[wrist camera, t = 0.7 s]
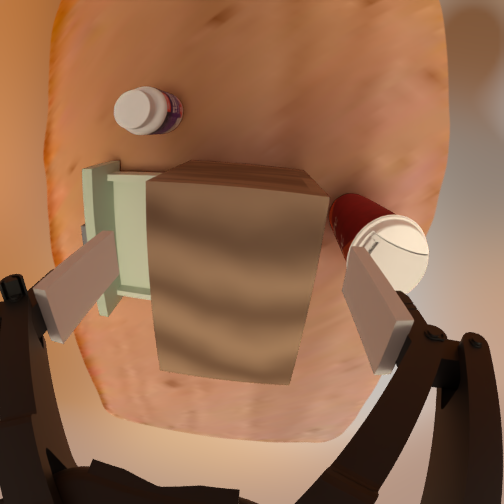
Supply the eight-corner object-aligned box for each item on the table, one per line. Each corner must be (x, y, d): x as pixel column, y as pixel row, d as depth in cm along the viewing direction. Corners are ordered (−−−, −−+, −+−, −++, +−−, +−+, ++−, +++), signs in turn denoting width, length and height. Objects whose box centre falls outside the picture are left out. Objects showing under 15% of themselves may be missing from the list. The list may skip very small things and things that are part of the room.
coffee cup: (307, 223, 38) (331, 278, 24) (344, 171, 35) (392, 199, 21) (355, 255, 39) (394, 319, 26) (391, 209, 36) (449, 253, 23)
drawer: (96, 160, 35) (66, 169, 28) (210, 163, 35) (198, 171, 28) (106, 287, 43) (85, 312, 36) (205, 301, 43) (195, 331, 36)
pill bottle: (192, 111, 33) (168, 105, 24) (163, 142, 34) (131, 147, 25) (163, 84, 31) (131, 72, 22) (136, 115, 33) (97, 114, 24)
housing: (190, 160, 35) (145, 181, 21) (304, 170, 35) (329, 197, 21) (188, 298, 43) (160, 370, 29) (283, 308, 43) (289, 385, 29)
